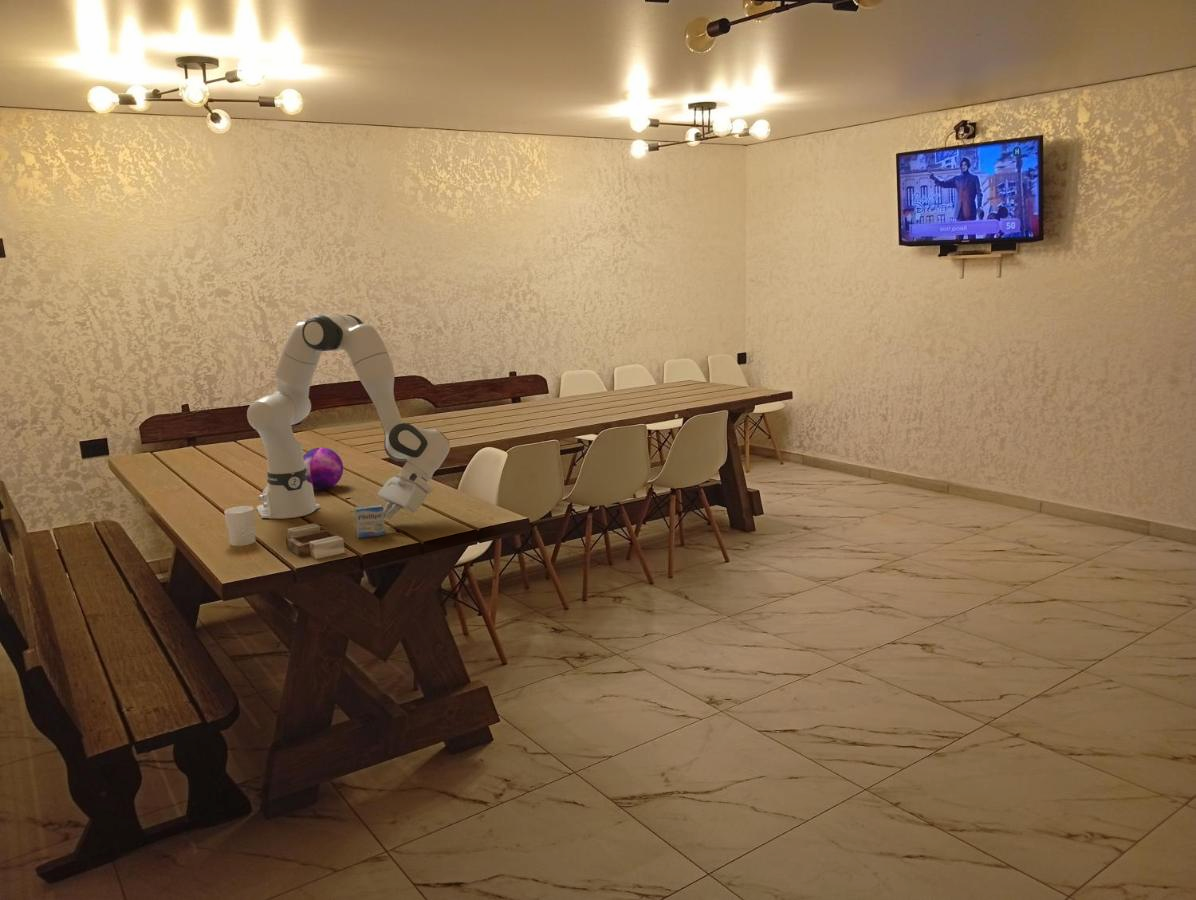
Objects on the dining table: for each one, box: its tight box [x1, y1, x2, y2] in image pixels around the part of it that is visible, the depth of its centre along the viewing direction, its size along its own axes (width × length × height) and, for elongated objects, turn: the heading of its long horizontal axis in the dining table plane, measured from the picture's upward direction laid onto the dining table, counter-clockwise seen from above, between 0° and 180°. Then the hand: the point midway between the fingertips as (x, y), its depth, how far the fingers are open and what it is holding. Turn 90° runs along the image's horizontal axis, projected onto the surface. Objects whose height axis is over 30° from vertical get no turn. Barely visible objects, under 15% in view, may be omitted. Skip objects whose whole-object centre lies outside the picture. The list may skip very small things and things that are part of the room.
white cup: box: [224, 505, 256, 547], centre depth 259 cm, size 8×8×10 cm
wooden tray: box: [285, 522, 345, 560], centre depth 252 cm, size 21×12×4 cm, turn 38°
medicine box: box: [354, 503, 386, 539], centre depth 262 cm, size 8×4×9 cm, turn 108°
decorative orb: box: [303, 447, 344, 491], centre depth 320 cm, size 15×15×15 cm
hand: (385, 517), depth 265 cm, fingers closed
